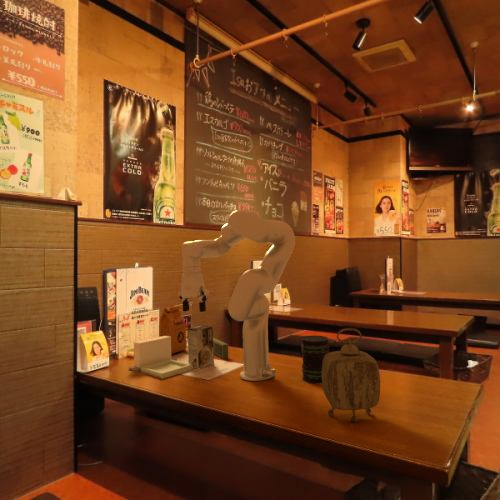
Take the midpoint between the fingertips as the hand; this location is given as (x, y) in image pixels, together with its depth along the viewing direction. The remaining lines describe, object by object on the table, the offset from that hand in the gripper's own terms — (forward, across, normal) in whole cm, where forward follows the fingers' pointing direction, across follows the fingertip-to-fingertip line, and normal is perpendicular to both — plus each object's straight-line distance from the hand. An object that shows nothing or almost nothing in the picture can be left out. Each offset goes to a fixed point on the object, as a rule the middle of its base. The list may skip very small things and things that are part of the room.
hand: (194, 311), depth 174 cm
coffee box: (+23, +1, +1) cm, 23 cm away
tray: (+22, -5, -13) cm, 26 cm away
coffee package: (+22, -27, +12) cm, 36 cm away
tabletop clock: (+26, +76, -18) cm, 82 cm away
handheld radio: (+23, -8, +20) cm, 32 cm away
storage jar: (+25, +51, +8) cm, 58 cm away
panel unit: (+22, -17, -10) cm, 29 cm away
